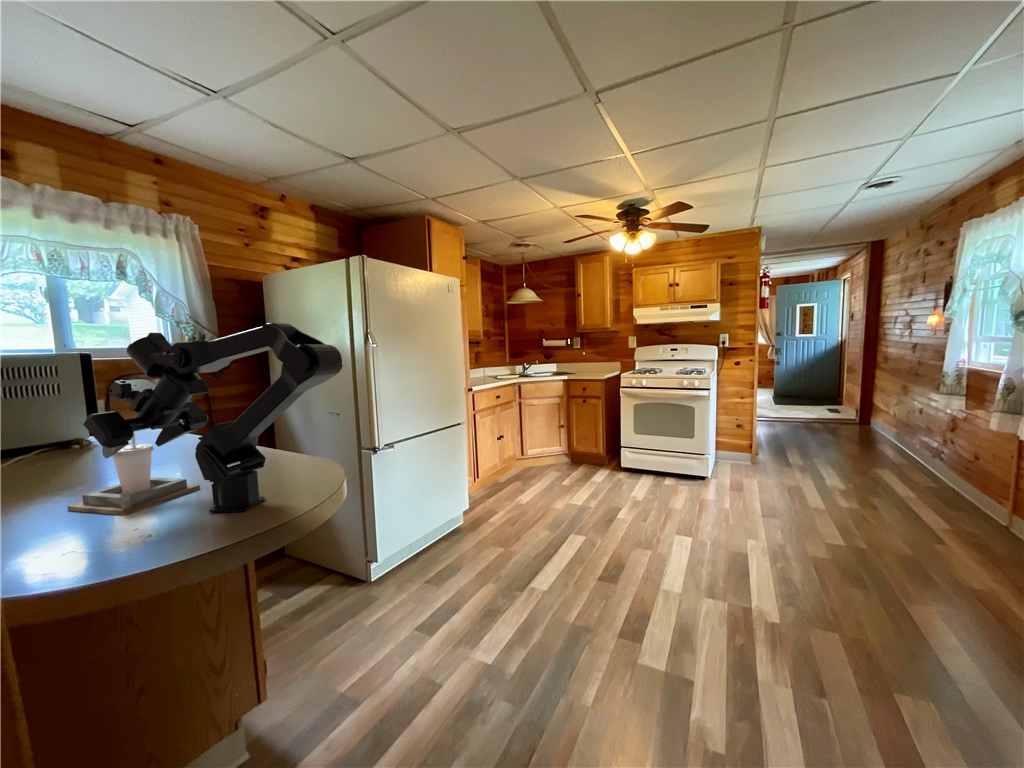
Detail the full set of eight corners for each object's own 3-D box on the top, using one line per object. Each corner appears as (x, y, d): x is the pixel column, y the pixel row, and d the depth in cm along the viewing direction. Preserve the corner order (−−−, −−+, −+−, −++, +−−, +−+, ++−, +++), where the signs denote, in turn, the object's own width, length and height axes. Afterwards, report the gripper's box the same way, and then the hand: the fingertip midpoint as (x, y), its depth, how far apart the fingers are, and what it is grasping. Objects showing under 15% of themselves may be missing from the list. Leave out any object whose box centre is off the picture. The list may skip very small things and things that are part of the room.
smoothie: (132, 502, 78) (124, 429, 77) (105, 500, 79) (97, 429, 78) (166, 490, 84) (159, 423, 83) (141, 489, 86) (134, 422, 84)
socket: (200, 488, 87) (198, 471, 87) (125, 515, 74) (123, 494, 73) (148, 485, 90) (146, 468, 90) (67, 510, 77) (65, 490, 76)
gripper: (191, 362, 88) (156, 414, 91) (84, 367, 70) (45, 431, 73) (225, 399, 87) (188, 449, 90) (125, 414, 68) (84, 476, 72)
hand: (132, 450), depth 81 cm, fingers open, 9 cm apart
